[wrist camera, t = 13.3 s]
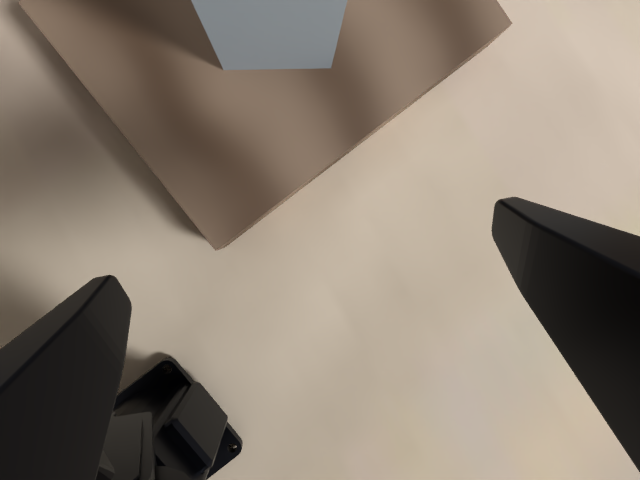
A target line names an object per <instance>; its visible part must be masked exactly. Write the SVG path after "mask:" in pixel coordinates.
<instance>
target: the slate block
mask: <svg viewBox="0 0 640 480" xmlns="http://www.w3.org/2000/svg"><path fill="white" fill-rule="evenodd" d="M191 1H192V3H193V5H194V8H195V10H196V12H197V14H198V16H199V18H200V20H201V23H202V25H203V27H204V29H205V31H206V33H207V35H208V38H209V40H210V42H211V44H212V46H213V48H214V50H215V53H216V55H217V57H218V59H219V61H220V63H221V65H222V68H223V70H260V69H319V68H331V66H332V62H333V58H334V54H335V49H336V45H337V41H338V37H339V33H340V29H341V25H342V20H343V16H344V12H345V8H346V4H347V0H191Z"/></svg>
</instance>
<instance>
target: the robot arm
mask: <svg viewBox="0 0 640 480" xmlns="http://www.w3.org/2000/svg"><path fill="white" fill-rule="evenodd" d="M492 236H493V239H494V241H495V243H496V245H497V247H498V249H499V251H500V253H501V255H502V257H503V259H504V261H505V263H506V265H507V267H508V269H509V271H510V273H511V275H512V277H513V279H514V281H515V283H516V285H517V287H518V289H519V290H520V292H521V294H522V295H523V297H524V298H525V300H526V301H527V303H528V304H529V306H530V308H531V309H532V311H533V312H534V314H535V315H536V317H537V318H538V320H539V321H540V323H541V324H542V326H543V327H544V329H545V330H546V332H547V333H548V335H549V336H550V338H551V339H552V341H553V342H554V344H555V345H556V347H557V348H558V350H559V351H560V353H561V354H562V356H563V357H564V359H565V360H566V362H567V363H568V365H569V366H570V368H571V369H572V371H573V372H574V374H575V375H576V377H577V378H578V380H579V381H580V383H581V384H582V386H583V387H584V389H585V390H586V392H587V393H588V395H589V396H590V398H591V400H592V401H593V403H594V404H595V406H596V407H597V409H598V410H599V412H600V413H601V415H602V416H603V418H604V419H605V421H606V422H607V424H608V425H609V427H610V428H611V430H612V431H613V433H614V434H615V436H616V437H617V439H618V440H619V442H620V443H621V445H622V446H623V448H624V449H625V451H626V452H627V454H628V455H629V457H630V458H631V460H632V461H633V463H634V464H635V466H636V467H637V469H638V470H639V472H640V236H637V235H634V234H631V233H627V232H624V231H621V230H618V229H615V228H612V227H609V226H606V225H602V224H599V223H596V222H593V221H590V220H587V219H584V218H581V217H577V216H574V215H571V214H568V213H565V212H562V211H559V210H556V209H552V208H549V207H546V206H543V205H540V204H537V203H534V202H530V201H527V200H524V199H521V198H518V197H510V198H505V199H500V200H498V201H497V202H496V203H495V207H494V214H493V222H492ZM131 310H132V307H131V302H130V299H129V297H128V296H127V294H126V292H125V291H124V289H123V288H122V286H121V284H120V283H119V281H118V280H117V278H116V277H114V276H112V275H107V276H102V277H96V278H94V279H92V280H91V281H89V282H88V283H87V284H85V285H84V286H83V287H81V288H80V289H79V290H77V291H76V292H75V293H73V294H72V295H71V296H70V297H68V298H67V299H66V300H64V301H63V302H62V303H60V304H59V305H58V306H56V307H55V308H54V309H53V310H51V311H50V312H49V313H47V314H46V315H45V316H43V317H42V318H41V319H39V320H38V321H37V322H35V323H34V324H33V325H32V326H30V327H29V328H28V329H26V330H25V331H24V332H22V333H21V334H20V335H18V336H17V337H16V338H15V339H13V340H12V341H11V342H9V343H8V344H7V345H5V346H4V347H3V348H1V349H0V480H207V479H208V478H209V477H211V476H212V475H213V474H214V473H216V472H217V471H218V470H220V469H221V468H222V467H223V466H225V465H226V464H227V463H228V462H230V461H231V460H232V459H234V458H235V457H236V456H237V455H238V454H239V453H240V452H241V449H242V445H243V443H242V440H241V438H240V437H239V435H238V434H237V433H236V432H235V431H234V429H233V428H232V427H231V426H230V425H229V423H228V422H227V419H228V417H227V415H226V414H225V413H224V411H223V410H222V409H221V408H220V407H219V405H218V404H217V403H216V402H215V401H214V399H213V398H212V397H211V396H210V395H209V393H208V392H207V391H206V390H205V388H204V387H203V386H202V385H201V384H200V383H198V382H194V381H193V380H192V379H191V378H190V376H189V375H188V374H187V373H186V372H185V370H184V369H183V368H182V367H181V366H180V364H179V363H178V362H177V361H176V360H175V359H173V358H165V359H163V360H162V361H161V362H159V363H158V364H157V365H156V366H154V367H153V368H152V369H150V370H149V371H148V372H146V373H145V374H144V375H143V376H141V377H140V378H139V379H137V380H136V381H135V382H133V383H132V384H131V385H130V386H128V387H127V388H126V389H124V390H123V391H122V392H120V393H119V394H118V395H117V392H118V388H119V384H120V381H121V376H122V372H123V368H124V362H125V356H126V348H127V341H128V333H129V325H130V318H131ZM165 365H169V366H171V368H172V371H166V370H165V368H164V366H165ZM231 443H233V444H235V445H236V446H237V447H236V448H231V447H230V446H229V444H231Z"/></svg>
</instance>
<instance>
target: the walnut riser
mask: <svg viewBox="0 0 640 480" xmlns="http://www.w3.org/2000/svg"><path fill="white" fill-rule="evenodd" d="M18 3H19V4H20V6H21V7H22V8H23V10H24V11H25V12H26V13H27V15H28V16H29V17H30V18H31V20H32V21H33V22H34V23H35V25H36V26H37V27H38V28H39V30H40V31H41V32H42V33H43V35H44V36H45V37H46V38H47V40H48V41H49V42H50V43H51V45H52V46H53V47H54V48H55V50H56V51H57V52H58V53H59V55H60V56H61V57H62V58H63V60H64V61H65V62H66V63H67V65H68V66H69V67H70V69H71V70H72V71H73V72H74V74H75V75H76V76H77V77H78V79H79V80H80V81H81V82H82V84H83V85H84V86H85V87H86V89H87V90H88V91H89V92H90V94H91V95H92V96H93V97H94V99H95V100H96V101H97V102H98V104H99V105H100V106H101V107H102V109H103V110H104V111H105V112H106V114H107V115H108V116H109V117H110V119H111V120H112V121H113V122H114V124H115V125H116V126H117V128H118V129H119V130H120V131H121V133H122V134H123V135H124V136H125V138H126V139H127V140H128V141H129V143H130V144H131V145H132V146H133V148H134V149H135V150H136V151H137V153H138V154H139V155H140V156H141V158H142V159H143V160H144V161H145V163H146V164H147V165H148V166H149V168H150V169H151V170H152V171H153V173H154V174H155V175H156V176H157V178H158V179H159V180H160V182H161V183H162V184H163V185H164V187H165V188H166V189H167V190H168V192H169V193H170V194H171V195H172V197H173V198H174V199H175V200H176V202H177V203H178V204H179V205H180V207H181V208H182V209H183V210H184V212H185V213H186V214H187V215H188V217H189V218H190V219H191V220H192V222H193V223H194V224H195V225H196V227H197V228H198V229H199V230H200V232H201V233H202V234H203V235H204V237H205V238H206V239H207V241H208V242H209V243H210V244H211V246H212V247H213V248H214V249H215V251H216V250H219V249H222V248H224V247H226V246H227V245H229V244H230V243H231V242H232V241H234V240H235V239H236V238H238V237H239V236H240V235H242V234H243V233H244V232H246V231H247V230H248V229H249V228H251V227H252V226H253V225H255V224H256V223H257V222H259V221H260V220H261V219H262V218H264V217H265V216H266V215H268V214H269V213H270V212H272V211H273V210H274V209H276V208H277V207H278V206H279V205H281V204H282V203H283V202H285V201H286V200H287V199H289V198H290V197H291V196H293V195H294V194H295V193H296V192H298V191H299V190H300V189H302V188H303V187H304V186H306V185H307V184H308V183H310V182H311V181H312V180H313V179H315V178H316V177H317V176H319V175H320V174H321V173H323V172H324V171H325V170H326V169H328V168H329V167H330V166H332V165H333V164H334V163H336V162H337V161H338V160H340V159H341V158H342V157H343V156H345V155H346V154H347V153H349V152H350V151H351V150H353V149H354V148H355V147H357V146H358V145H359V144H360V143H362V142H363V141H364V140H366V139H367V138H368V137H370V136H371V135H372V134H373V133H375V132H376V131H377V130H379V129H380V128H381V127H383V126H384V125H385V124H387V123H388V122H389V121H390V120H392V119H393V118H394V117H396V116H397V115H398V114H400V113H401V112H402V111H404V110H405V109H406V108H407V107H409V106H410V105H411V104H413V103H414V102H415V101H417V100H418V99H419V98H421V97H422V96H423V95H424V94H426V93H427V92H428V91H430V90H431V89H432V88H434V87H435V86H436V85H437V84H439V83H440V82H441V81H443V80H444V79H445V78H447V77H448V76H449V75H451V74H452V73H453V72H454V71H456V70H457V69H458V68H460V67H461V66H462V65H464V64H465V63H466V62H468V61H469V60H470V59H471V58H473V57H474V56H475V55H477V54H478V53H479V52H481V51H482V50H483V49H485V48H486V47H487V46H488V45H489V44H490V43H492V42H493V41H494V40H495V39H496V38H497V37H498V36H499V35H500V34H501V33H503V32H504V31H505V30H506V29H507V28H508V27H509V26H510V25H511V24H512V22H511V21H510V19H509V18H508V16H507V15H506V13H505V12H504V10H503V9H502V7H501V6H500V4H499V3H498V2H497V0H347V4H346V8H345V12H344V16H343V20H342V25H341V29H340V33H339V37H338V41H337V45H336V49H335V54H334V58H333V62H332V66H331V68H319V69H260V70H223V68H222V65H221V63H220V61H219V59H218V57H217V55H216V53H215V50H214V48H213V46H212V44H211V42H210V40H209V38H208V35H207V33H206V31H205V29H204V27H203V25H202V23H201V20H200V18H199V16H198V14H197V12H196V10H195V8H194V5H193V3H192V1H191V0H21V1H20V2H18Z"/></svg>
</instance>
